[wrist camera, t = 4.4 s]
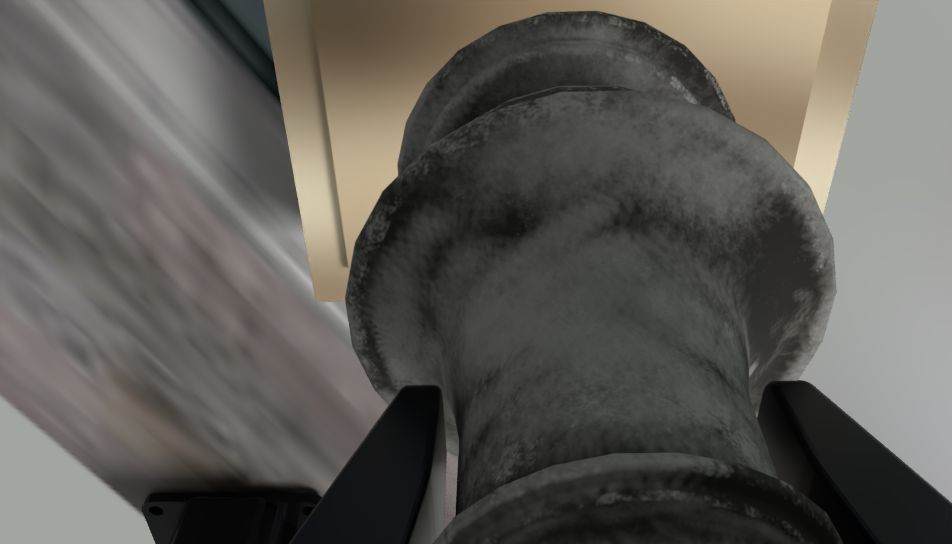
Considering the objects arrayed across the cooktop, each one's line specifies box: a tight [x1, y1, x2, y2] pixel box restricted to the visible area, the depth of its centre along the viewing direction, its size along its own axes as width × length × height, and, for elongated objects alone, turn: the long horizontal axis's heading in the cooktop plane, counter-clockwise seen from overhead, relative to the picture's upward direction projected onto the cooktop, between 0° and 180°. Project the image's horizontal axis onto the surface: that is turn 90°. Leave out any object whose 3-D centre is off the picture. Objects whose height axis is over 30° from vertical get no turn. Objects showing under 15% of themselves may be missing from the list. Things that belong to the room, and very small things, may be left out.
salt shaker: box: [345, 11, 844, 544], centre depth 8 cm, size 6×6×12 cm
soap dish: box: [263, 0, 878, 302], centre depth 18 cm, size 12×12×3 cm
